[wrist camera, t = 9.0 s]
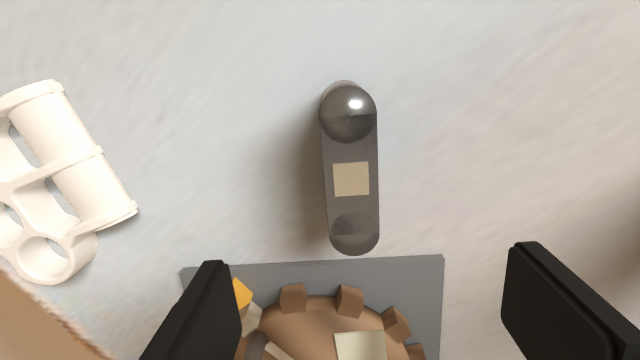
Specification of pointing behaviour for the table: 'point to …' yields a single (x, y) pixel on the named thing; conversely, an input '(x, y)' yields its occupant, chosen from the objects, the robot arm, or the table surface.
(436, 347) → the index base plate
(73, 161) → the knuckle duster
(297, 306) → the sprocket wheel
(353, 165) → the chain link
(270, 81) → the table surface
